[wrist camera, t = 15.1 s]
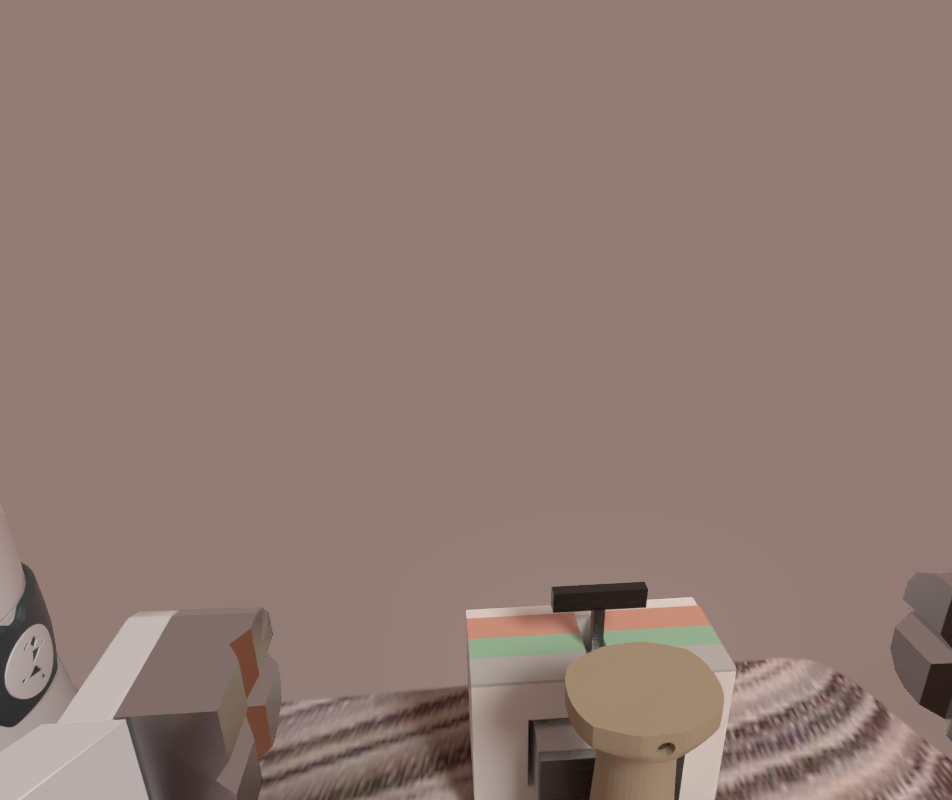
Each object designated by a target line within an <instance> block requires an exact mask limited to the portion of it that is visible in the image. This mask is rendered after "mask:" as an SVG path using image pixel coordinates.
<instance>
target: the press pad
mask: <svg viewBox="0 0 952 800" xmlns="http://www.w3.org/2000/svg"><path fill="white" fill-rule="evenodd" d="M647 592H648V589H647V587H646V585H645V582H634V583H616V584H598V585H579V586H562V587H552V594H551V607H552V611H553V613H560V612H578V611H591V622H590V639H589V652H591V651H593V650H595V649H598V648H600V647H603V637H604V622H605V610H613V609H630V608H646V603H647ZM596 751H597V749H594V748H592V747H591V746H590V745H588V744H587V743H586V742H585V741H584V740H583V739H582V738H581V737H580V736H579V735H578V734H577V732H576V731H575V729H574V728H573V726H572V724H571V721H570V719H569V718H556V719H540V720H528V754H529V761H530V767H531V774H532V780H533V786H534V793H535V799H536V800H589V798H590V792H591V786H592V780H593V773H594V766H595V758H596ZM684 759H685V755H683V756H681V757H679V758H677V762H676V777H675V793H674V800H679V795H680V788H681V781H682V773H683V766H684Z"/></svg>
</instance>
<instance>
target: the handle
mask: <svg viewBox="0 0 952 800" xmlns="http://www.w3.org/2000/svg"><path fill="white" fill-rule="evenodd" d="M565 706H566V710H567V714H568V717H569V719H570V721H571V724H572V726H573V728H574V729H575V731H576V732H577V734H578V735H579V736H580V737H581V738H582V739H583V740H584V741H585V742H586V743H587V744H588V745H590V746H591V747H592V748H594V749H597V751H596V758H595V766H594V773H593V780H592V786H591V792H590V798H589V800H674V793H675V777H676V762H677V758H679V757H681V756H683V755H685V754H687V753H689V752H690V751H692V750H694V749H695V748H697V747H698V746H699V745H701V744H702V743H703V742H705V741H706V740H707V739H708V738H709V737H711V736H712V735H713V734H714V733H715V732H716V731H717V730H718V729H719V727H720V724H721V719H722V713H723V706H724V693H723V690H722V687H721V684H720V682H719V680H718V679H717V677H716V675H715V674H714V672H713V671H712V670H711V669H710V667H709V666H708V665H707V664H706V663H705V662H704V661H703V660H702V659H701V658H699V657H698V656H697V655H695V654H694V653H692V652H690V651H689V650H687V649H684V648H679V647H674V646H669V645H663V644H658V643H651V642H631V643H623V644H615V645H609V646H604V647H600V648H598V649H595V650H593V651H591V652H589V653H587V654H586V655H584V656H582V657H580V658H579V659H577V660H575V661H574V662H572V663H570V664H569V666H568V668H567V671H566V675H565Z"/></svg>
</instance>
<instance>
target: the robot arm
mask: <svg viewBox="0 0 952 800" xmlns="http://www.w3.org/2000/svg"><path fill="white" fill-rule="evenodd" d="M903 600H904V602H905V603H906V605H907V607H908V609H909V610H910V613H909V614H908V615H907V616H906V617H905V618H904V619H903V620H902V621H901V622H900V623H899V624H898V625H897V626H896V627H895V631H894V635H893V639H892V644H891V653H892V658H893V662H894V667H895V671H896V673H897V675H898V677H899V678H900V680H901V682H902V684H903V686H904V687H905V689H906V690H907V691H908V692H909V693H910V695H911V696H912V697H913V698H914V699H915V700H916V702H918V704H920V705H921V706H923V707H924V708H926V709H928V710H930V711H931V712H933V713H935V714H937V715H938V716H940V717H942V718H944V719H945V726H946V736H947V737H948V738H949V739H950V740H951V741H952V570H945V571H929V572H917V573H916V574H915V575H914V576H913V577H912V578H911V579H910V580H909V581H908V583H907V587H906V590H905V594H904V597H903ZM272 636H273V632H272V627H271V622H270V617H269V613H268V612H267V611H266V610H265V609H264V608H263V607H261V608H260V607H257V608H229V609H228V608H225V609H194V610H180V611H153V612H138V613H137V614H134V615H133V616H131V617H129V618H128V619H127V620H126V621H125V623H124V625H123V626H122V627H121V629H120V630H119V632H118V633H117V635H116V636H115V638H114V639H113V641H112V642H111V643H110V645H109V647H108V648H107V649H106V651H105V652H104V654H103V655H102V657H101V658H100V660H99V661H98V663H97V664H96V666H95V667H94V669H93V670H92V672H91V673H90V674H89V676H88V677H87V679H86V680H85V682H84V683H83V685H82V686H81V688H80V689H78V687H77V686H76V684H75V682H74V681H73V680H71V678H70V677H69V675H68V673H67V671H66V669H65V667H64V666H63V664H62V662H61V660H60V659H59V657H58V655H57V653H56V645H55V639H54V634H53V628H52V623H51V619H50V616H49V613H48V610H47V607H46V604H45V601H44V599H43V596H42V594H41V591H40V588H39V585H38V583H37V581H36V578H35V576H34V574H33V572H32V570H31V569H30V568H29V567H28V566H26V565H25V564H23V563H22V562H20V559H19V556H18V553H17V550H16V547H15V544H14V541H13V538H12V536H11V532H10V529H9V526H8V523H7V520H6V517H5V514H4V511H3V508H2V505H1V502H0V800H257V799H258V796H259V792H260V789H261V785H262V776H261V771H260V766H259V759H260V758H261V757H262V756H263V755H264V754H265V753H266V752H267V751H268V750H269V749H270V748H271V747H272V746H273V742H274V738H275V734H276V730H277V727H278V720H279V712H280V703H281V683H280V674H279V667H278V663H277V662H276V661H274V659H273V658H272V657H270V656H269V655H268V654H267V651H268V647H269V645H270V642H271V639H272Z"/></svg>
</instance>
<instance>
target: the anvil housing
mask: <svg viewBox="0 0 952 800" xmlns="http://www.w3.org/2000/svg"><path fill="white" fill-rule="evenodd" d="M590 622H591V611H578V612H560V613H553V611H552V607H551V605H547V606H529V607H512V608H493V609H476V610H466V625H467V655H468V656H467V657H468V688H469V720H470V743H471V759H472V776H473V793H474V800H536V799H535V793H534V786H533V780H532V774H531V767H530V761H529V754H528V720H540V719H556V718H569V717H568V714H567V710H566V706H565V675H566V671H567V668H568V666H569V664H570V663H572V662H574V661H575V660H577V659H579V658H580V657H582V656H584V655H586V654H587V653H589V639H590ZM631 642H651V643H658V644H663V645H669V646H674V647H679V648H684V649H687V650H689V651H690V652H692V653H694V654H695V655H697V656H698V657H699V658H701V659H702V660H703V661H704V662H705V663H706V664H707V665H708V666H709V667H710V669H711V670H712V671H713V672H714V674H715V675H716V677H717V679H718V680H719V682H720V684H721V687H722V690H723V693H724V706H723V713H722V719H721V724H720V727H719V729H718V730H717V731H716V732H715V733H714V734H713V735H712V736H711V737H709V738H708V739H707V740H706V741H705V742H703V743H702V744H701V745H699V746H698V747H697V748H695V749H694V750H692V751H690V752H689V753H687V754H685V759H684V766H683V773H682V781H681V788H680V795H679V800H715V794H716V788H717V782H718V776H719V770H720V764H721V758H722V752H723V746H724V740H725V734H726V728H727V722H728V716H729V710H730V704H731V698H732V692H733V686H734V680H735V674H736V667H735V665H734V663H733V662H732V660H731V658H730V656H729V655H728V653H727V651H726V650H725V648H724V646H723V645H722V643H721V641H720V640H719V638H718V636H717V634H716V633H715V631H714V629H713V628H712V626H711V624H710V623H709V621H708V619H707V617H706V616H705V614H704V613H703V611H702V609H701V607H700V606H699V605H697V604H696V602H695V600H694V599H693V597H690V598H689V597H688V598H671V599H653V600H647V603H646V608H630V609H613V610H605V622H604V637H603V647H604V646H609V645H615V644H623V643H631Z"/></svg>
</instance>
